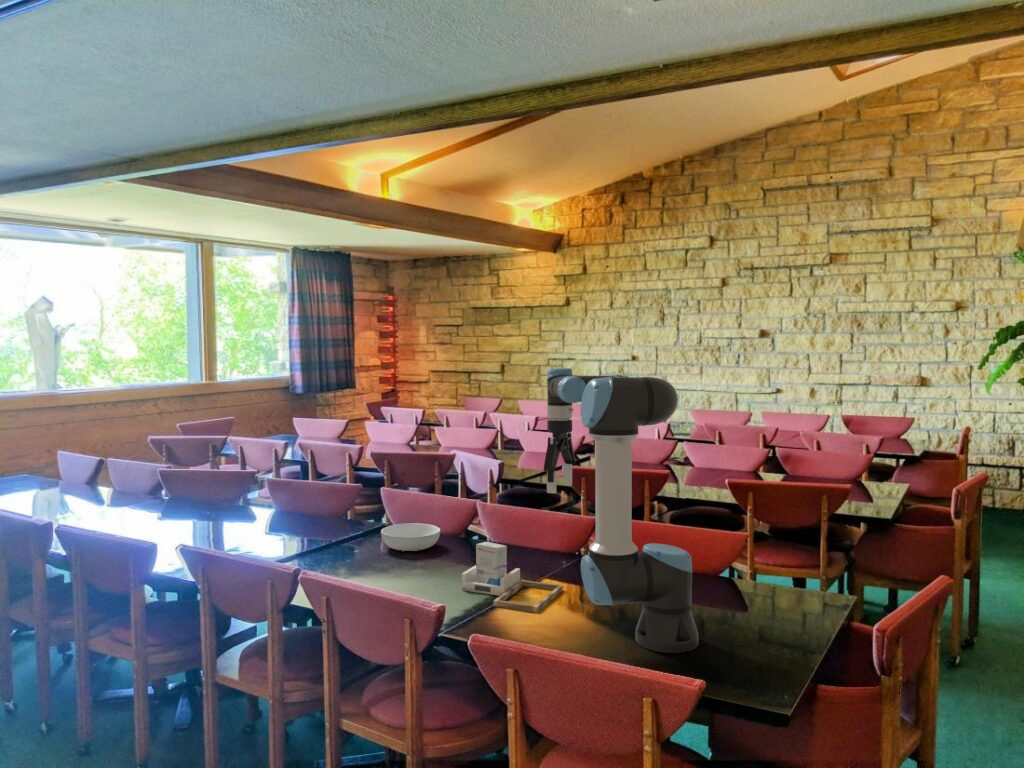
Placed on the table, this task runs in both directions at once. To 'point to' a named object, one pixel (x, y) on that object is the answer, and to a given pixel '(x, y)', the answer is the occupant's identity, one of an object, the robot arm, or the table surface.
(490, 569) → the ink box
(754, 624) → the table surface
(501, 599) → the tray frame
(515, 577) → the tray
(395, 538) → the serving bowl
